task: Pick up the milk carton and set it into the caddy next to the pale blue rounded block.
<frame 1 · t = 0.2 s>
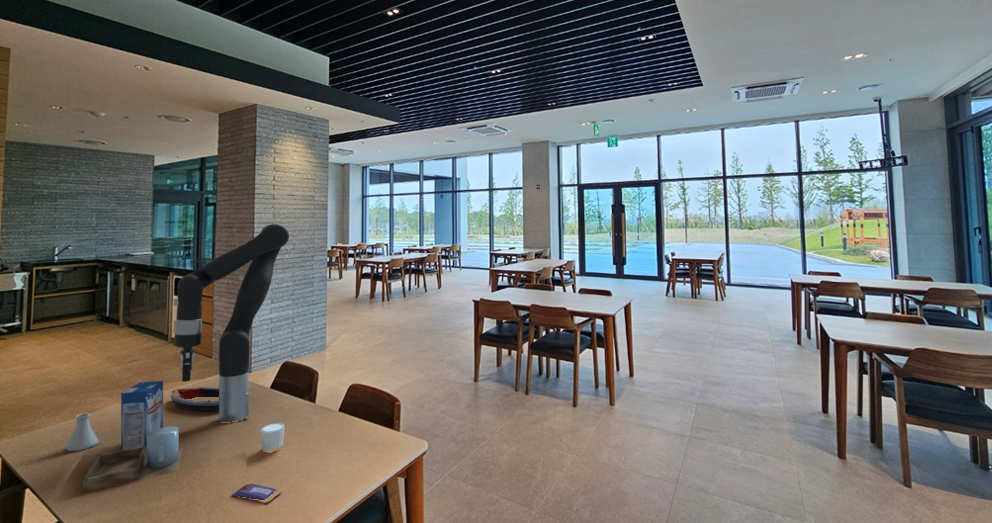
hand: (186, 377, 139), 18 cm above the table, tool pointing down, fingers open, 8 cm apart
pale blue rounded block: (163, 462, 115), resting on caddy
milk carton: (143, 450, 125), on the table
dish: (203, 405, 161), on the table
caddy: (137, 473, 112), on the table
flask: (82, 447, 126), on the table
snack package: (256, 497, 104), on the table
shot glass: (272, 449, 127), on the table
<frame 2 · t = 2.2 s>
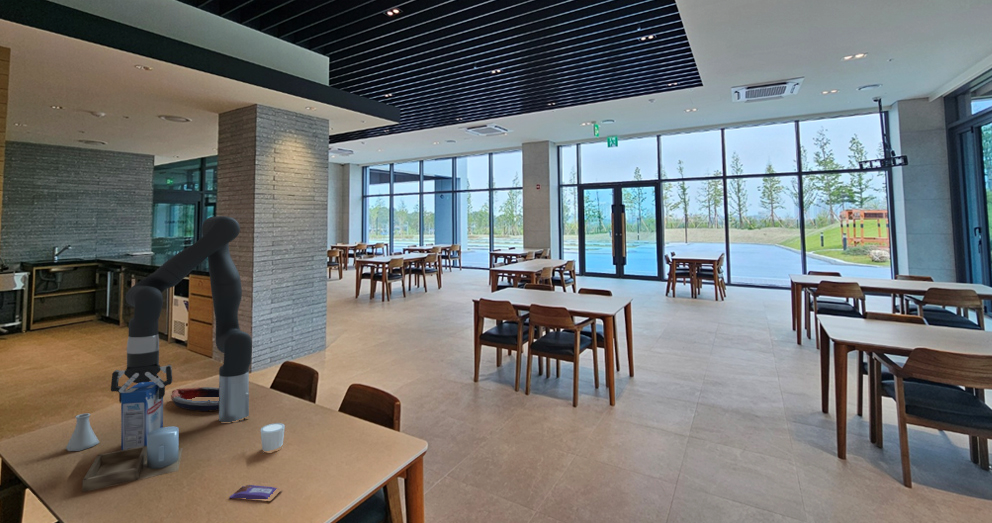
hand: (142, 401, 124), 15 cm above the table, tool pointing down, fingers open, 8 cm apart
nothing on the table moved.
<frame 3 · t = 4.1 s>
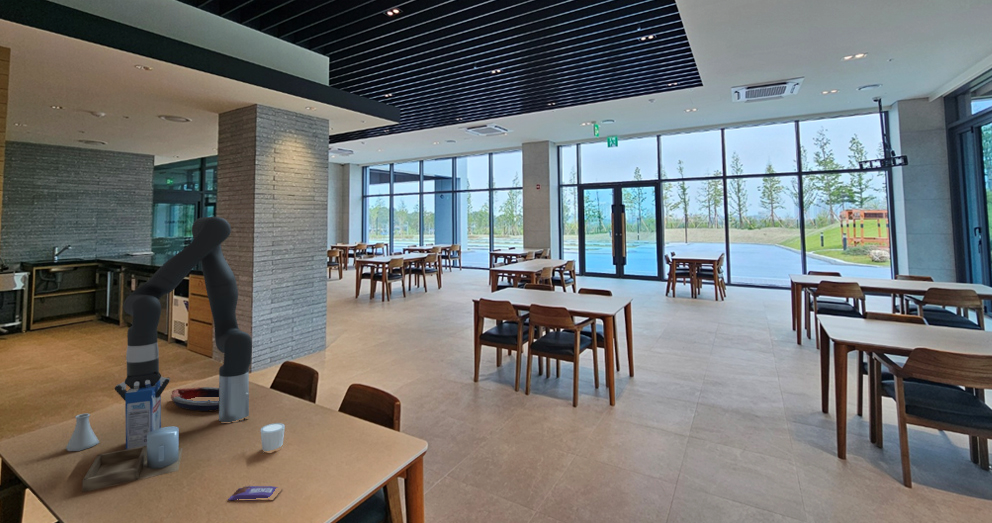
hand: (143, 412, 125), 12 cm above the table, tool pointing down, fingers closed
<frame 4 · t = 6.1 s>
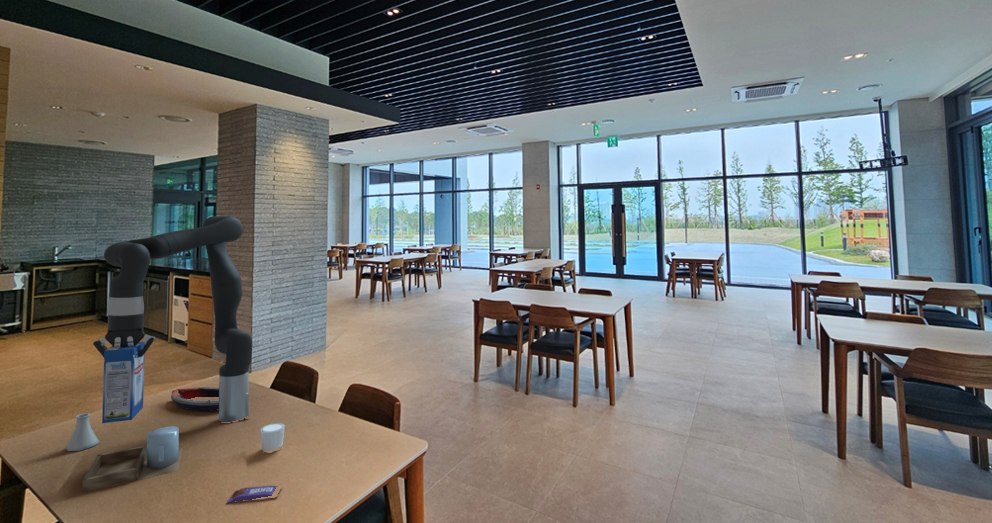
hand: (124, 372, 114), 28 cm above the table, tool pointing down, fingers closed
milk carton: (123, 415, 114), point 15 cm above the table, touching gripper, hand
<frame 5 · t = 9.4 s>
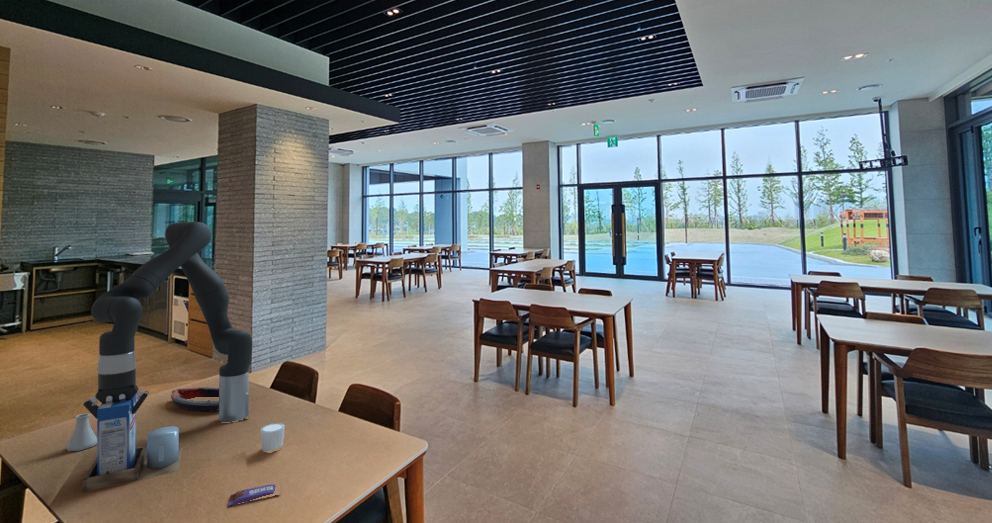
hand: (117, 430, 109), 13 cm above the table, tool pointing down, fingers closed, pressing on milk carton
milk carton: (117, 472, 110), point 1 cm above the table, touching caddy, gripper
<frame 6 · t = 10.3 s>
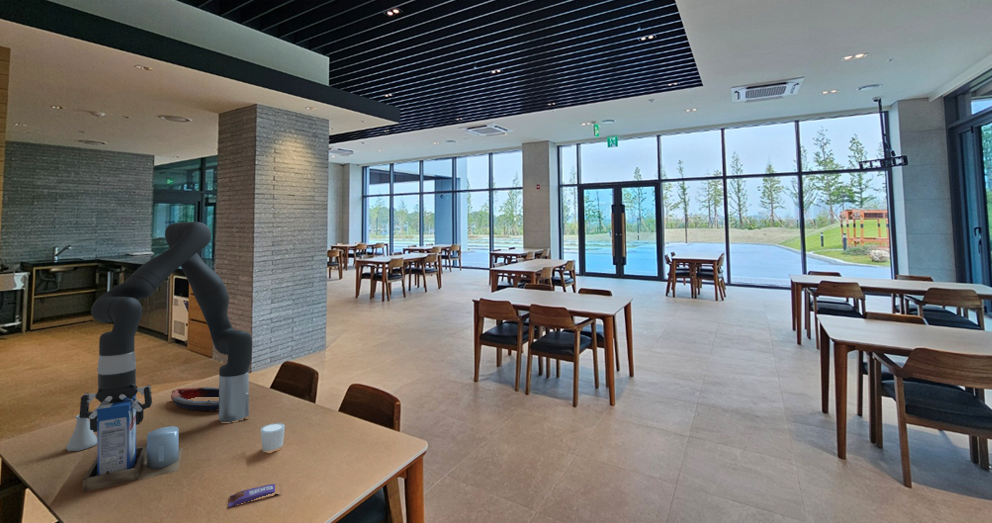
hand: (117, 427, 109), 14 cm above the table, tool pointing down, fingers open, 8 cm apart
milk carton: (117, 472, 110), point 1 cm above the table, touching caddy
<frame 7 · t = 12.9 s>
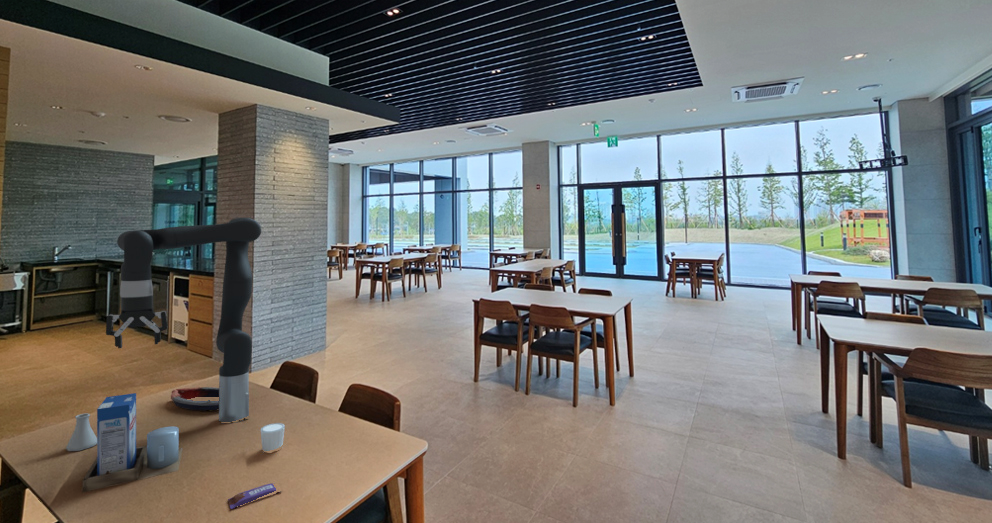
hand: (138, 345, 125), 33 cm above the table, tool pointing down, fingers open, 8 cm apart
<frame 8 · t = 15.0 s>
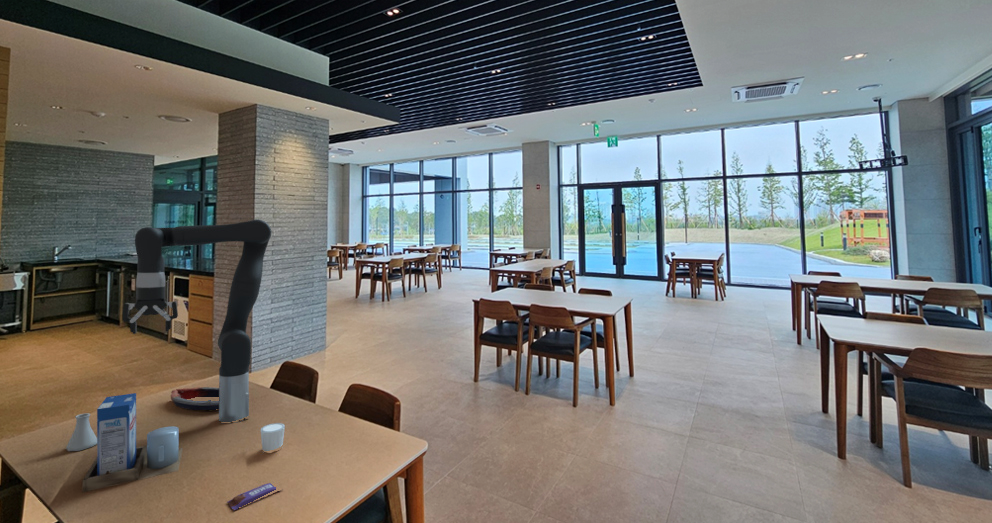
hand: (151, 332, 137), 34 cm above the table, tool pointing down, fingers open, 8 cm apart
at the end: milk carton 0.1 cm from the target spot on the caddy, point 1.3 cm above the caddy's base; milk carton tilted 0°; the gripper is holding nothing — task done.
